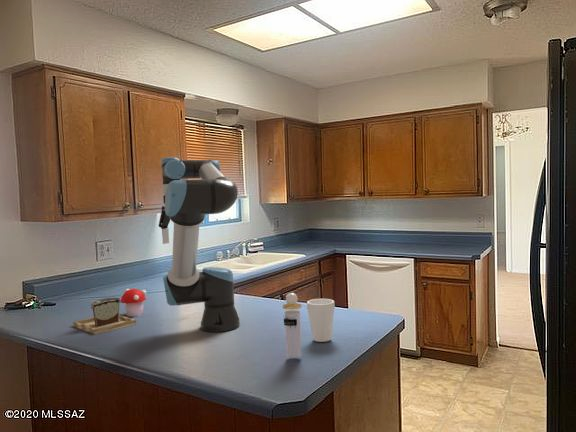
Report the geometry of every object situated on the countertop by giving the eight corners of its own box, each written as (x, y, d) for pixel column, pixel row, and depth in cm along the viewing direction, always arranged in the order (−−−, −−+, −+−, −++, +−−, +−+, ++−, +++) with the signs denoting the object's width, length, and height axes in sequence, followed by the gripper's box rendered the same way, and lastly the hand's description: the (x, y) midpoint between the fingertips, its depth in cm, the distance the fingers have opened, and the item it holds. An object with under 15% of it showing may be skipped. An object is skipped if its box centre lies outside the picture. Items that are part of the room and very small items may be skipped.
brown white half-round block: (114, 319, 192) (113, 296, 192) (122, 321, 188) (120, 297, 188) (86, 326, 182) (84, 301, 182) (93, 328, 178) (91, 303, 178)
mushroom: (151, 314, 201) (150, 287, 200) (128, 319, 193) (127, 292, 192) (139, 310, 208) (138, 285, 208) (116, 316, 200) (115, 289, 200)
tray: (135, 324, 185) (135, 319, 185) (95, 334, 172) (94, 329, 172) (113, 317, 198) (112, 313, 198) (73, 326, 186) (73, 321, 186)
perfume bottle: (288, 353, 142) (286, 290, 141) (306, 354, 140) (303, 291, 139) (282, 359, 136) (279, 294, 136) (299, 361, 134) (297, 295, 134)
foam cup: (315, 344, 149) (314, 306, 149) (304, 337, 158) (302, 300, 157) (340, 340, 153) (339, 302, 152) (327, 333, 161) (326, 297, 161)
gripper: (197, 192, 185) (199, 244, 186) (163, 195, 202) (166, 242, 203) (181, 193, 180) (184, 246, 180) (148, 195, 197) (151, 243, 197)
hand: (174, 244), depth 192 cm, fingers open, 13 cm apart
